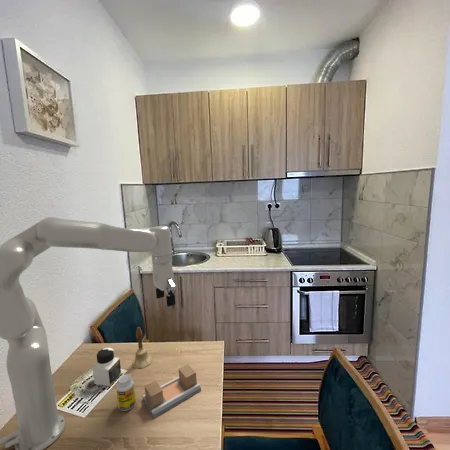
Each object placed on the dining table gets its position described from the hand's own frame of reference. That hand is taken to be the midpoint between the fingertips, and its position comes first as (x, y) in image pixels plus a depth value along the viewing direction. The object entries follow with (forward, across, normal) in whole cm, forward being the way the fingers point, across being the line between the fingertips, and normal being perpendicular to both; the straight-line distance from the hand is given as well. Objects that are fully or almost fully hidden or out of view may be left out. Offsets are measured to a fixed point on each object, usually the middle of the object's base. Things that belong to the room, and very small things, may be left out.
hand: (165, 301), depth 100 cm
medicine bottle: (+30, -13, -21) cm, 39 cm away
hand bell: (+30, -14, -7) cm, 34 cm away
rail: (+30, +11, -5) cm, 32 cm away
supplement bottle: (+30, +5, -19) cm, 36 cm away
